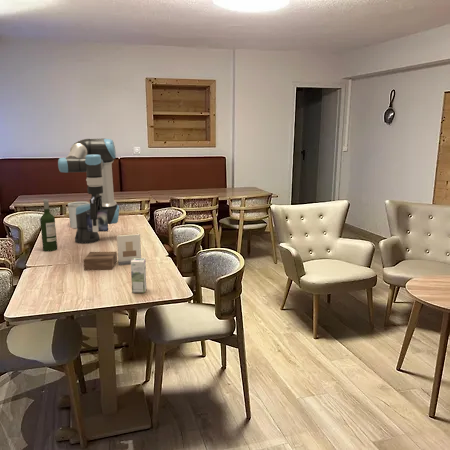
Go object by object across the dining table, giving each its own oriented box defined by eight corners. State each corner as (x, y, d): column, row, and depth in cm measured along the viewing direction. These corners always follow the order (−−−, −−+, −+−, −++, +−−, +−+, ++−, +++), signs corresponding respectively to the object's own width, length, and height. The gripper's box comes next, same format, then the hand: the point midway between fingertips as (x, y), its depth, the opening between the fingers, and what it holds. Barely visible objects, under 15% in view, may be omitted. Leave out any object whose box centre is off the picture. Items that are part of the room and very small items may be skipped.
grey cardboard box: (118, 262, 236) (116, 234, 233) (140, 260, 240) (139, 233, 236) (118, 265, 231) (117, 237, 227) (141, 263, 234) (140, 235, 231)
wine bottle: (52, 251, 256) (47, 201, 249) (40, 251, 257) (35, 200, 251) (60, 248, 263) (55, 198, 257) (48, 247, 265) (43, 198, 258)
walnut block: (90, 262, 236) (90, 251, 235) (117, 262, 237) (116, 251, 236) (84, 270, 223) (83, 259, 221) (112, 270, 224) (111, 259, 222)
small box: (86, 232, 222) (85, 212, 219) (87, 230, 228) (86, 210, 226) (108, 231, 224) (107, 211, 222) (108, 229, 230) (107, 209, 228)
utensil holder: (68, 225, 325) (66, 202, 321) (89, 223, 331) (87, 200, 328) (70, 229, 312) (68, 205, 308) (92, 227, 318) (90, 203, 314)
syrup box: (146, 288, 197) (145, 257, 194) (144, 293, 192) (143, 261, 189) (134, 288, 197) (132, 257, 194) (131, 293, 191) (130, 261, 188)
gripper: (93, 183, 231) (95, 225, 235) (81, 188, 211) (84, 234, 216) (107, 183, 231) (109, 225, 236) (97, 188, 211) (100, 234, 216)
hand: (97, 230), depth 226 cm, fingers closed on small box, 7 cm apart
